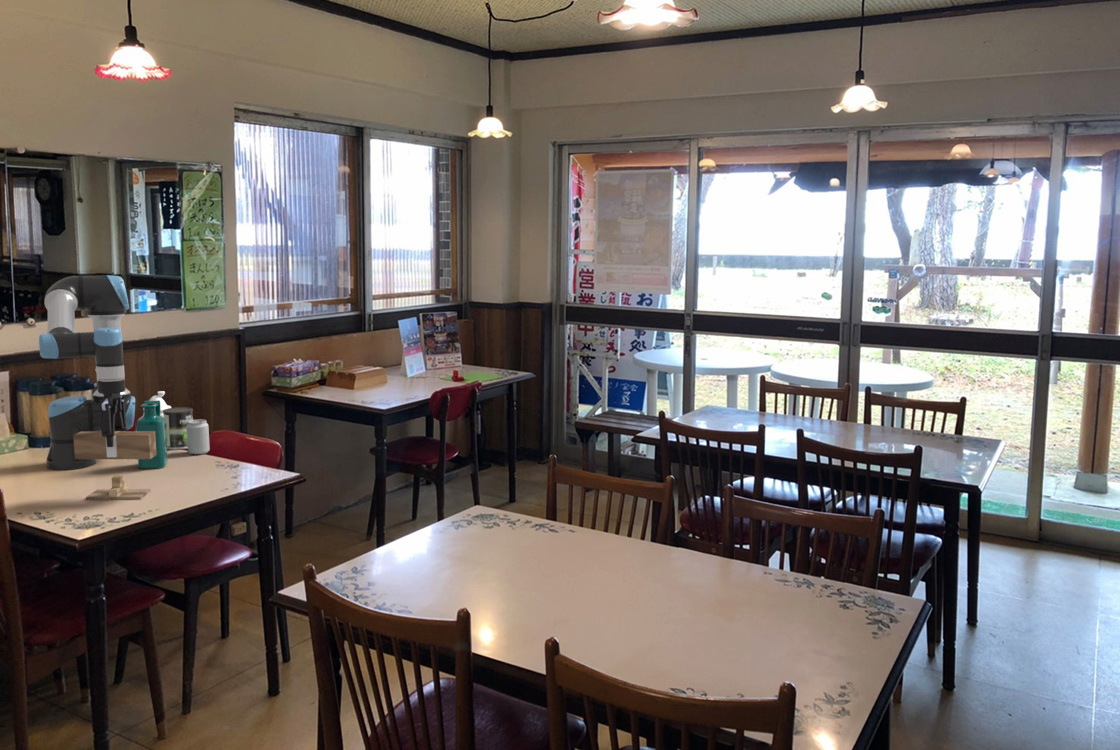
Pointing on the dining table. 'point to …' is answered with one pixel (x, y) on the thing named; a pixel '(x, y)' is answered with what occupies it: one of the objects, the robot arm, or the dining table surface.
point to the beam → (126, 441)
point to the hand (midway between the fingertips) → (116, 454)
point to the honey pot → (162, 402)
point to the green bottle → (157, 424)
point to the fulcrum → (118, 491)
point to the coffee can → (177, 426)
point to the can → (198, 437)
